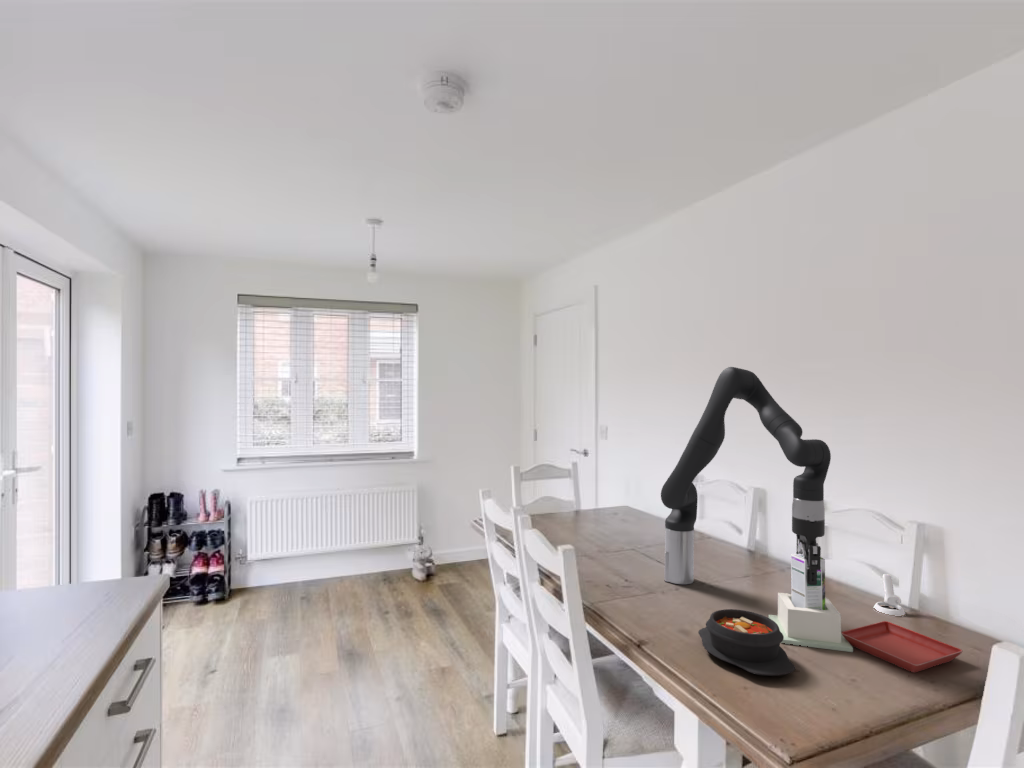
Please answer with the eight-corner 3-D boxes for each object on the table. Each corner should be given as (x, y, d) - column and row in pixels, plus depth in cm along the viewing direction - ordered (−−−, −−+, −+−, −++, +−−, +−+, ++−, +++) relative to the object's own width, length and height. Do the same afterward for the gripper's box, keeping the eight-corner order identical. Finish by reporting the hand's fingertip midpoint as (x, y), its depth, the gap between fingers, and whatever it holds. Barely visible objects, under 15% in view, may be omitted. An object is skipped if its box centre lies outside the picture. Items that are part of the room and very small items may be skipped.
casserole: (817, 679, 119) (817, 640, 119) (742, 688, 115) (743, 648, 115) (744, 630, 144) (744, 598, 144) (680, 636, 139) (680, 603, 139)
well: (780, 643, 136) (780, 611, 136) (768, 618, 152) (768, 589, 152) (852, 652, 132) (853, 618, 132) (832, 625, 148) (832, 595, 148)
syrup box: (805, 616, 139) (806, 559, 139) (790, 607, 145) (790, 552, 145) (825, 615, 140) (826, 558, 140) (809, 606, 145) (810, 552, 146)
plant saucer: (916, 679, 120) (916, 664, 120) (839, 644, 137) (839, 631, 137) (964, 664, 127) (964, 650, 127) (885, 633, 144) (885, 620, 144)
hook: (888, 584, 166) (904, 577, 160) (896, 625, 159) (913, 619, 153) (863, 578, 166) (878, 571, 161) (870, 618, 159) (886, 613, 154)
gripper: (786, 509, 150) (785, 569, 150) (799, 521, 137) (798, 587, 136) (816, 511, 148) (816, 572, 148) (832, 523, 135) (832, 590, 134)
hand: (807, 579), depth 142 cm, fingers closed on syrup box, 7 cm apart
